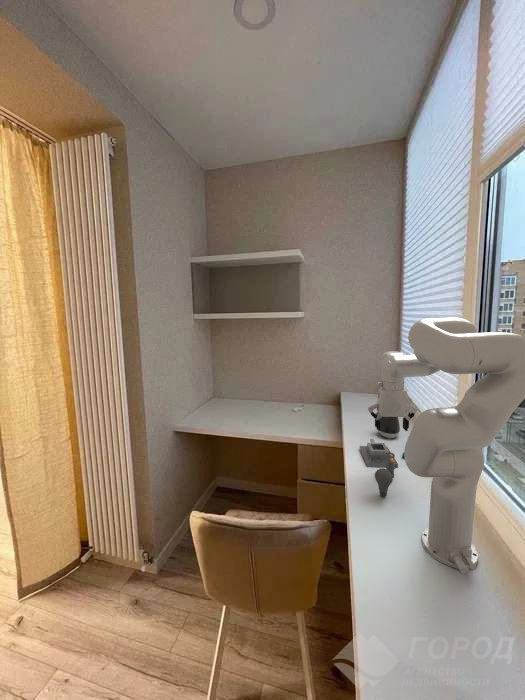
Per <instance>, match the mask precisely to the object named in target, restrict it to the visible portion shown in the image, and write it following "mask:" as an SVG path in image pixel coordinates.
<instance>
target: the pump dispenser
mask: <svg viewBox="0 0 525 700" xmlns="http://www.w3.org/2000/svg"><path fill="white" fill-rule="evenodd" d="M379 420H380V431H378V432H379V434H380V435H381V436H382V437H383V438H386V439H394V438H397V437H398V435H399V433H400V431H401V425H400V419H399V417H383V416H382V417H381V418H380V419H379Z"/></svg>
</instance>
